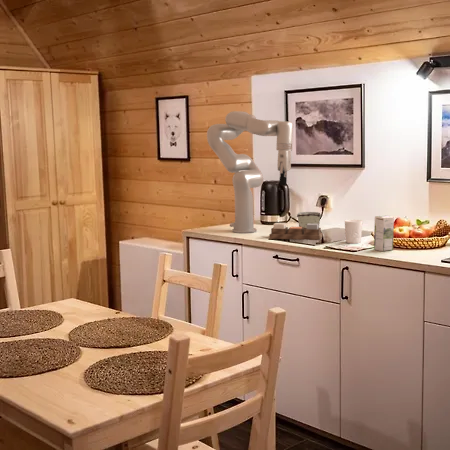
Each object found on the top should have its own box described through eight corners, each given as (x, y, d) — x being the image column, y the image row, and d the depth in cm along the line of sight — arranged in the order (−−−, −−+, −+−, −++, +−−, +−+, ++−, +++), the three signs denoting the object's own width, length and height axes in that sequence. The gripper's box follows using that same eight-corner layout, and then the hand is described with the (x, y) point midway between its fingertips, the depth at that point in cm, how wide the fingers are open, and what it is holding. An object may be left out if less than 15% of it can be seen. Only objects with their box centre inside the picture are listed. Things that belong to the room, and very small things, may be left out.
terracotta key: (289, 234, 329) (289, 227, 329) (291, 232, 334) (291, 226, 333) (300, 234, 328) (300, 228, 327) (302, 232, 333) (302, 226, 332)
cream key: (273, 230, 331) (273, 224, 331) (275, 228, 336) (275, 222, 335) (283, 230, 330) (283, 224, 329) (285, 229, 334) (285, 223, 334)
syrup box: (384, 248, 296) (384, 215, 294) (393, 250, 290) (394, 216, 289) (373, 249, 293) (374, 216, 291) (383, 251, 288) (383, 217, 286)
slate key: (306, 231, 327) (306, 224, 326) (308, 229, 331) (308, 223, 331) (317, 231, 325) (317, 224, 325) (318, 229, 330) (318, 223, 330)
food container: (320, 231, 352) (320, 211, 351) (321, 232, 346) (321, 213, 345) (296, 231, 353) (296, 211, 352) (296, 233, 347) (296, 213, 346)
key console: (269, 238, 330) (269, 229, 329) (273, 235, 339) (273, 226, 339) (319, 239, 323) (319, 230, 322) (322, 236, 333) (322, 227, 332)
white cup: (344, 241, 318) (344, 219, 317) (362, 241, 317) (362, 219, 316) (344, 243, 310) (344, 221, 309) (362, 243, 309) (362, 221, 308)
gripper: (289, 148, 324) (287, 187, 327) (294, 146, 338) (293, 184, 341) (273, 147, 326) (272, 186, 329) (279, 146, 340) (278, 183, 343)
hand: (282, 185), depth 335 cm, fingers closed
